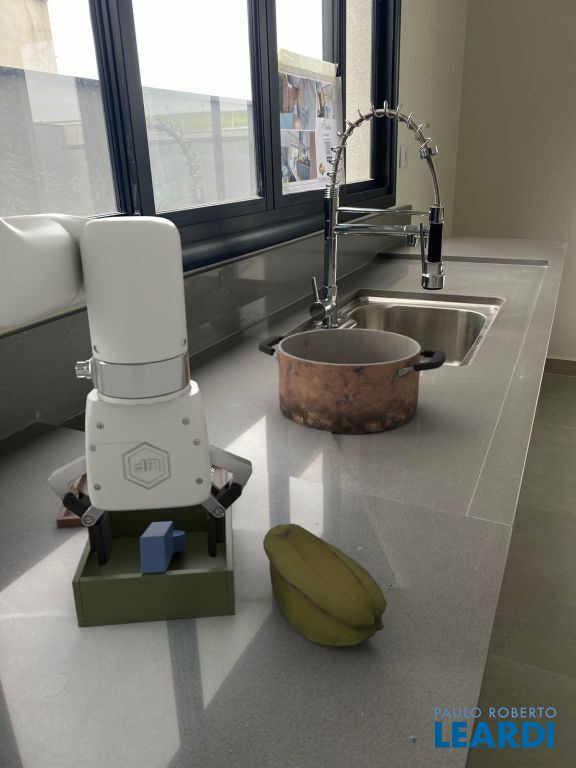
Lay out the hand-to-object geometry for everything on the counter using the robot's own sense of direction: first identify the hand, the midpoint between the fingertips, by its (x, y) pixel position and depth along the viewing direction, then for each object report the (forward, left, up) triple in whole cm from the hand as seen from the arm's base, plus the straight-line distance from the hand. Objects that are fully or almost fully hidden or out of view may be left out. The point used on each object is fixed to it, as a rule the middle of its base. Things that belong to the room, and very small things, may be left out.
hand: (159, 552), depth 55 cm
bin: (0, +2, -3) cm, 4 cm away
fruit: (+14, -5, -4) cm, 15 cm away
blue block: (0, 0, -1) cm, 1 cm away
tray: (-3, +18, -3) cm, 18 cm away
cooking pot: (+26, +43, -4) cm, 50 cm away
